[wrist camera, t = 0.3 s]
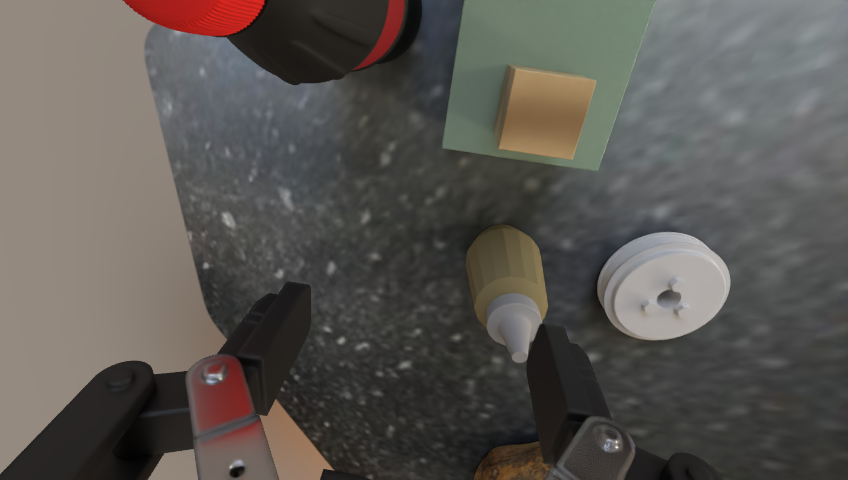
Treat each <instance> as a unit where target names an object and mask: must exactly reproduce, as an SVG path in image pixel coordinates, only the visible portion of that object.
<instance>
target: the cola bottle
mask: <svg viewBox="0 0 848 480" xmlns="http://www.w3.org/2000/svg"><path fill="white" fill-rule="evenodd" d="M123 1H125V3H126V4H127V5H129V6H130V8H132V9H133V10H134V11H135V12H137V13H138V14H140V15H142V16H143V17H145V18H146V19H148V20H150V21H152V22H154V23H156V24H159V25H161V26H164V27H167V28H170V29H173V30H177V31H181V32H187V33H192V34H199V35H207V36H214V37H227V38H228V39H229V41H230V42H231V43H232V44H233V45H235V46H236V47H237V48H238V49H239V50H240V51H241V52H242V53H244V54H245V55H246V56H247V57H248V58H250V59H251V60H252V61H253V62H255V63H256V64H257V65H259V66H260V67H262V68H263V69H265V70H266V71H268V72H270V73H272V74H274V75H276V76H278V77H279V78H281V79H282V80H283V81H285V82H287V83H289V84H292V85H299V84H300V83H321V82H326V81H330V80H333V79H335V80H338V79H342V78H343V77H344V76H345V75H346V74H347V73H349V72H354V71H359V70H363V69H366V68H369V67H371V66H373V65H375V64H381V63H386V62H389V61H391V60H394V59H395V58H397V57H399V56H400V55H401V54H403V53H404V52H405V51H406V50H407V49H408V48H409V46H410V45H411V44H412V42H413V41H414V39H415V37H416V35H417V33H418V30H419V27H420V23H421V16H422V2H421V0H123Z"/></svg>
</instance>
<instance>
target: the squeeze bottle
mask: <svg viewBox="0 0 848 480" xmlns="http://www.w3.org/2000/svg"><path fill="white" fill-rule="evenodd" d="M465 265H466V270H467V275H468V280H469V284H470V289H471V294H472V299H473V303H474V308H475V311H476V315H477V318H478V320H479V321H480V322H481V323H482V324H483V325H484V327H485V328H487V330H488V334H489V335H490V336H491V337H492V339H493V340H494V341H496V342H498V343H500V344H502V345H505V346H506V347H507V349H508V351H509V353H510V355H511V357H512V359H513V361H515V362H517V363H523V362H525V361H526V360H527V358H528V350H529V342H531V341H533V340H534V338H535V335H536V332H537V330H538V327H539V325H540V324H541V323H542V320H543V319H544V318H545V315H546V311H547V308H548V303H547V296H546V289H545V282H544V275H543V269H542V262H541V256H540V251H539V248H538V246H537V245H536V244H535V242H534V241H533V240H532V238H531V237H529V236H528V235H526V234H524V233H523V232H521V231H519V230H518V229H516V228H514V227H512V226H510V225H504V224H498V225H493V226H490V227H488V228H486V229H485V230H483V231H482V232H481V233H480V234H479V235H478V237H477V238H476V239H475V241H474V242H473V243H472V245H471V246H470V248H469V249H468V251H467V256H466V261H465Z"/></svg>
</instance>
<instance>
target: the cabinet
mask: <svg viewBox="0 0 848 480" xmlns="http://www.w3.org/2000/svg"><path fill="white" fill-rule="evenodd" d="M655 2H656V0H464V1H463V7H462V14H461V21H460V27H459V34H458V41H457V47H456V54H455V61H454V67H453V74H452V81H451V88H450V94H449V101H448V108H447V114H446V121H445V128H444V134H443V141H442V148H443V149H449V150H456V151H463V152H469V153H476V154H483V155H490V156H496V157H503V158H510V159H516V160H523V161H530V162H536V163H543V164H550V165H556V166H563V167H570V168H577V169H583V170H590V171H598V169H599V166H600V163H601V160H602V157H603V154H604V151H605V148H606V145H607V142H608V140H609V137H610V134H611V131H612V128H613V125H614V122H615V119H616V116H617V113H618V110H619V107H620V104H621V102H622V99H623V96H624V93H625V90H626V87H627V84H628V81H629V78H630V75H631V72H632V69H633V66H634V64H635V61H636V58H637V55H638V52H639V49H640V46H641V43H642V40H643V37H644V34H645V31H646V28H647V26H648V23H649V20H650V17H651V14H652V11H653V8H654V5H655ZM507 64H513V65H520V66H526V67H533V68H540V69H547V70H554V71H561V72H568V73H575V74H578V75H581V76H584V77H587V78H590V79H593V80H596V85H595V88H594V91H593V94H592V98H591V101H590V104H589V107H588V111H587V114H586V117H585V120H584V124H583V127H582V130H581V133H580V137H579V140H578V143H577V146H576V150H575V153H574V156H573V159H572V160H568V159H562V158H555V157H548V156H541V155H535V154H528V153H521V152H515V151H508V150H501V149H498V146H497V143H496V140H495V137H494V133H493V131H494V126H495V122H496V117H497V112H498V107H499V102H500V97H501V92H502V88H503V83H504V78H505V73H506V68H507Z"/></svg>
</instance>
